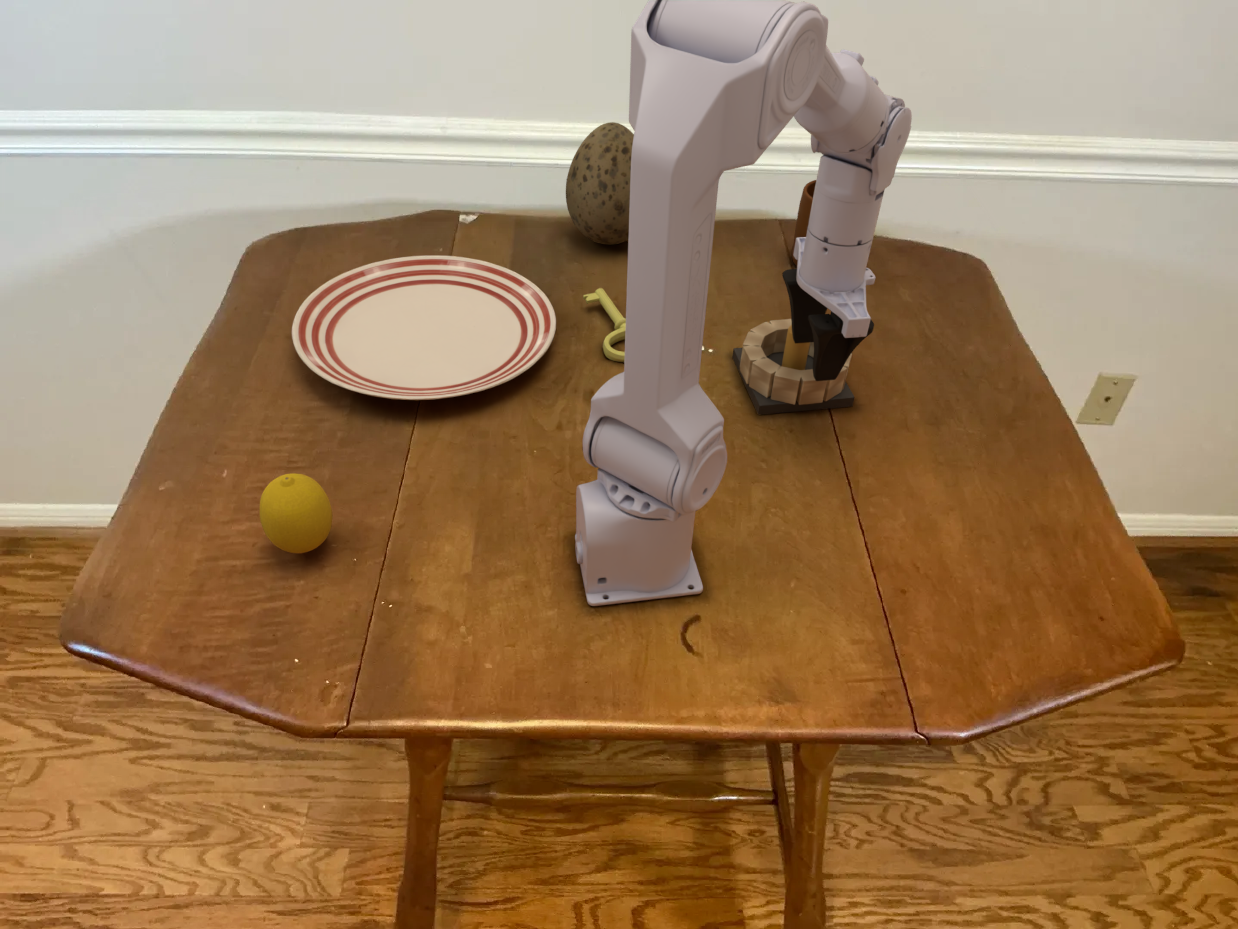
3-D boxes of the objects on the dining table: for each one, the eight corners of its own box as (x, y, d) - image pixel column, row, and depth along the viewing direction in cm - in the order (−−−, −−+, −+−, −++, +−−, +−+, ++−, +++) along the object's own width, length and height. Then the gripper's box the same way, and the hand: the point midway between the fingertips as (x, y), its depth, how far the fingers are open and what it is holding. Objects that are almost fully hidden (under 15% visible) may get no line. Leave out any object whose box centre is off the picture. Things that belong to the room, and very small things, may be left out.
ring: (759, 409, 93) (762, 385, 91) (728, 347, 101) (731, 323, 99) (861, 398, 95) (867, 374, 93) (823, 338, 103) (828, 315, 101)
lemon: (305, 582, 77) (284, 512, 71) (257, 554, 79) (234, 484, 73) (353, 541, 80) (337, 471, 75) (306, 515, 82) (287, 446, 77)
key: (599, 300, 110) (599, 284, 108) (675, 347, 103) (677, 330, 102) (551, 323, 106) (551, 306, 104) (628, 373, 99) (628, 356, 98)
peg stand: (758, 415, 95) (766, 362, 90) (732, 357, 102) (738, 306, 98) (852, 406, 96) (865, 354, 92) (820, 350, 103) (830, 299, 99)
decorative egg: (657, 259, 117) (664, 141, 107) (570, 263, 116) (569, 143, 106) (643, 218, 125) (649, 104, 115) (562, 221, 124) (561, 106, 114)
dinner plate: (522, 263, 115) (521, 238, 113) (587, 395, 96) (588, 368, 94) (288, 295, 108) (282, 269, 106) (309, 445, 89) (302, 417, 87)
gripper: (917, 269, 78) (881, 401, 87) (854, 191, 88) (828, 315, 97) (835, 274, 77) (807, 407, 86) (782, 195, 87) (762, 320, 96)
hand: (813, 359), depth 91 cm, fingers open, 6 cm apart
